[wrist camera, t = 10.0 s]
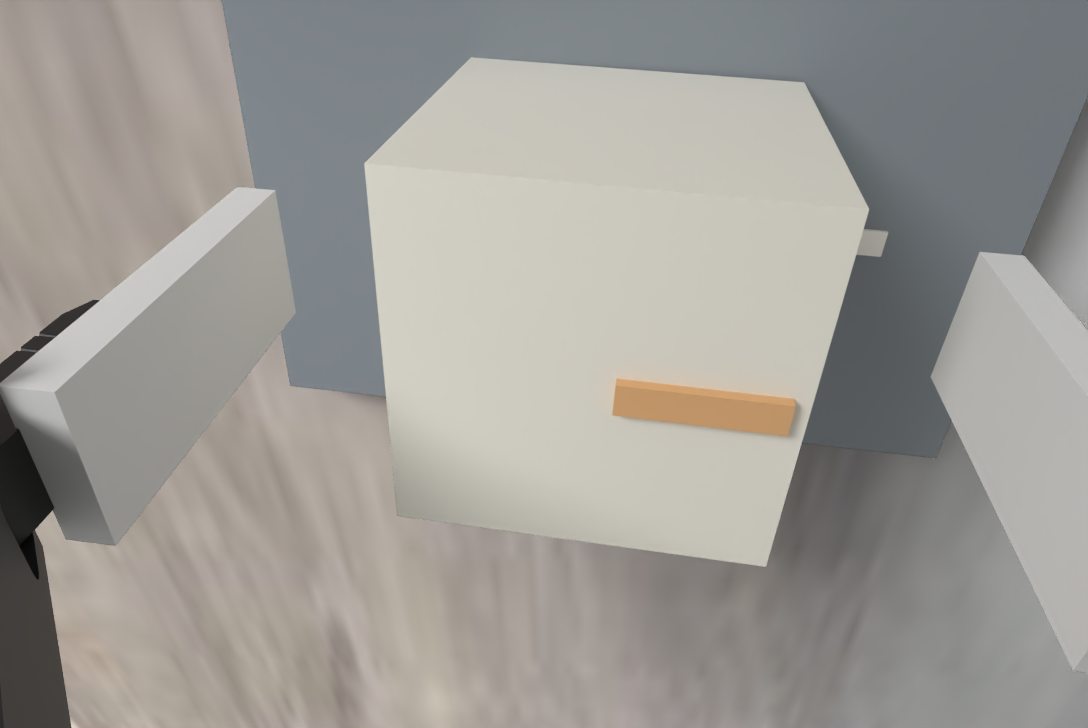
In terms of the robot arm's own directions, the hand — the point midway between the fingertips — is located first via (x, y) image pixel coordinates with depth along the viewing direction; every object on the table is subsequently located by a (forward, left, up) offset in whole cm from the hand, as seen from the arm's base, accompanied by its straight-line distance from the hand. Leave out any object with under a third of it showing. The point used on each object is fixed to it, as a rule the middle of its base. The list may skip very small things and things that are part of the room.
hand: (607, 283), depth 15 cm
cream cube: (0, 0, -4) cm, 4 cm away
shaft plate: (0, 0, -5) cm, 5 cm away
